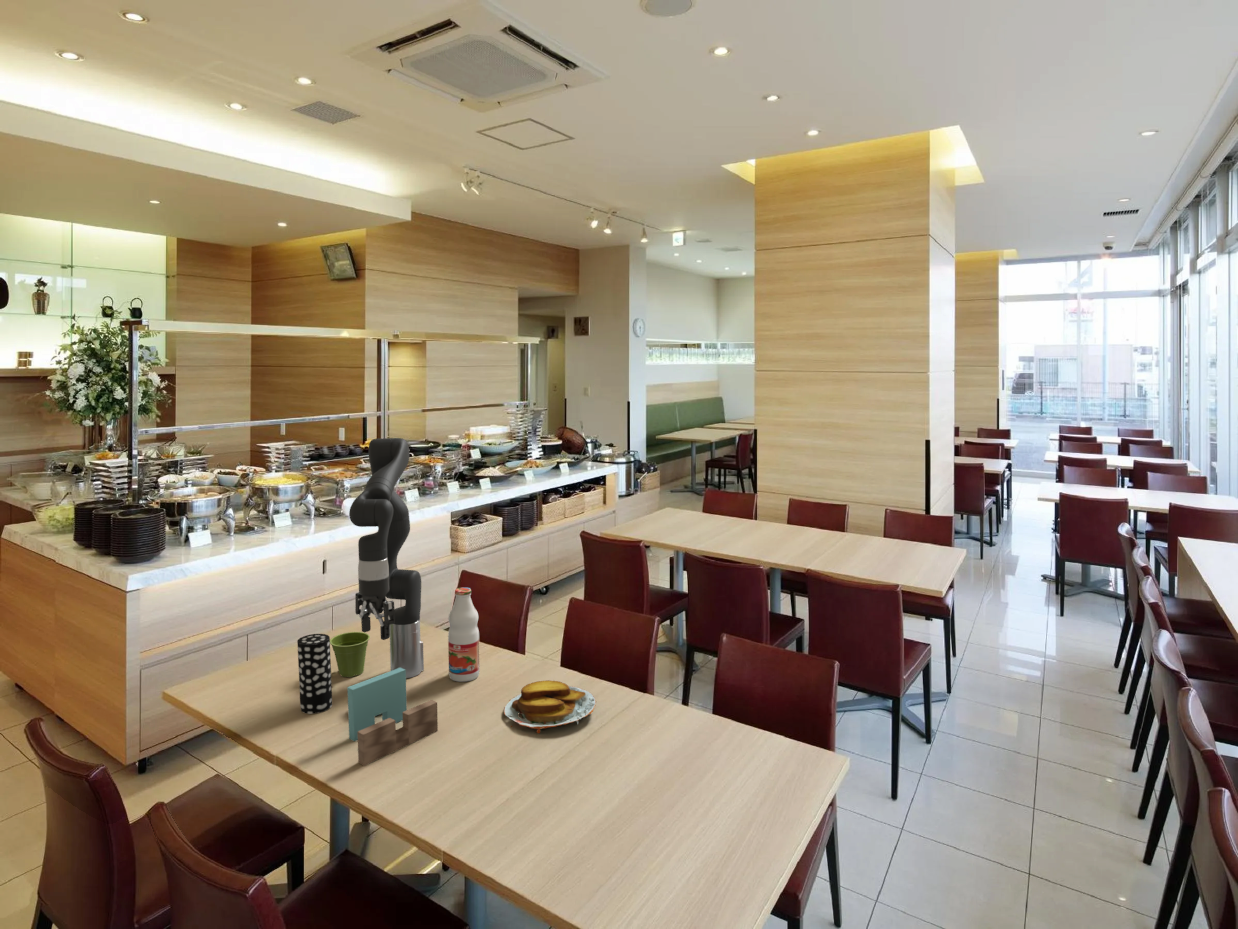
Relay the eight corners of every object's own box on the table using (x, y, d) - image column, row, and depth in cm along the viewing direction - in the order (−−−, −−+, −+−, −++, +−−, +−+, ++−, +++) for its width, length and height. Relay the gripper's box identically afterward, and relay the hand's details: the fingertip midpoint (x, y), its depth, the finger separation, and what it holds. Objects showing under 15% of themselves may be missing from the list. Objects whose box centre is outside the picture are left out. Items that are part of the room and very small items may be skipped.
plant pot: (332, 667, 231) (331, 633, 229) (371, 663, 234) (370, 630, 233) (329, 683, 220) (328, 647, 218) (370, 678, 223) (369, 643, 222)
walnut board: (432, 728, 193) (431, 699, 192) (437, 730, 192) (437, 702, 191) (358, 762, 176) (357, 731, 175) (364, 765, 175) (363, 734, 174)
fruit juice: (485, 672, 229) (484, 587, 225) (469, 684, 220) (468, 595, 216) (459, 668, 232) (458, 583, 228) (442, 679, 223) (441, 592, 219)
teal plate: (349, 738, 187) (347, 687, 185) (401, 715, 200) (400, 667, 198) (354, 741, 186) (352, 690, 184) (406, 718, 198) (405, 669, 197)
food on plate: (548, 746, 186) (548, 721, 185) (485, 715, 202) (484, 692, 201) (615, 710, 205) (615, 688, 204) (552, 684, 222) (552, 663, 221)
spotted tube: (324, 714, 200) (322, 645, 197) (295, 713, 200) (291, 644, 198) (337, 700, 208) (334, 634, 206) (308, 699, 208) (305, 633, 206)
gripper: (402, 577, 186) (404, 637, 188) (370, 567, 195) (372, 625, 197) (377, 583, 180) (378, 646, 182) (345, 573, 189) (347, 632, 191)
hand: (375, 635), depth 189 cm, fingers open, 8 cm apart
